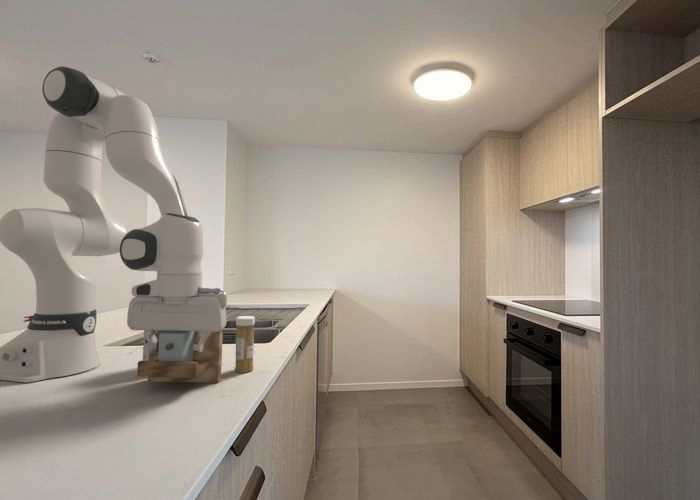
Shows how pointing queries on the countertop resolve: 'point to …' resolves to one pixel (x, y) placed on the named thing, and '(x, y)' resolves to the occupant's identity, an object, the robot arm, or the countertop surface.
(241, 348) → the sprinkles bottle
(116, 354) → the countertop surface
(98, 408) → the countertop surface
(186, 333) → the cabinet box
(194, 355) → the wall board
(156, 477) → the countertop surface
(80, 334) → the robot arm
